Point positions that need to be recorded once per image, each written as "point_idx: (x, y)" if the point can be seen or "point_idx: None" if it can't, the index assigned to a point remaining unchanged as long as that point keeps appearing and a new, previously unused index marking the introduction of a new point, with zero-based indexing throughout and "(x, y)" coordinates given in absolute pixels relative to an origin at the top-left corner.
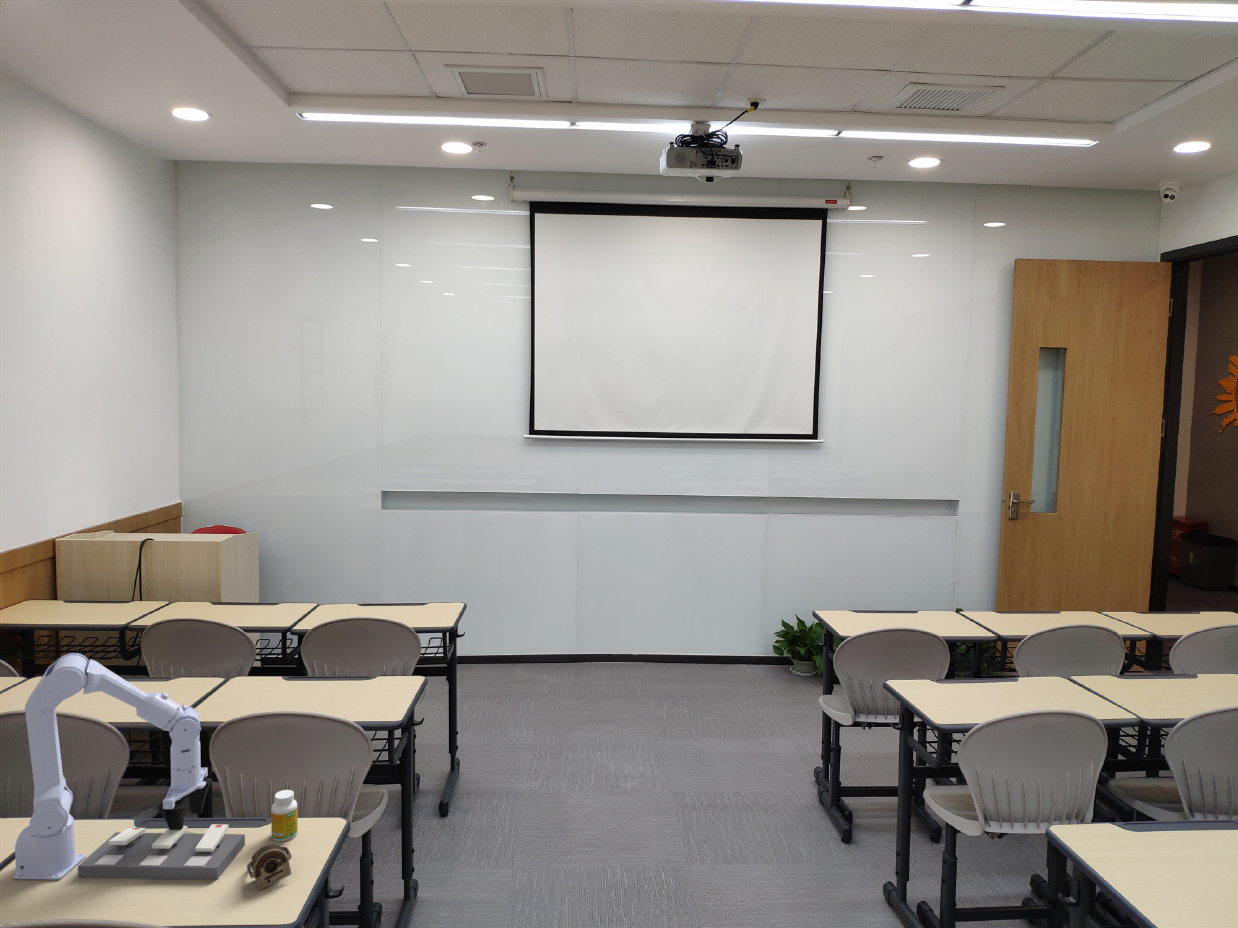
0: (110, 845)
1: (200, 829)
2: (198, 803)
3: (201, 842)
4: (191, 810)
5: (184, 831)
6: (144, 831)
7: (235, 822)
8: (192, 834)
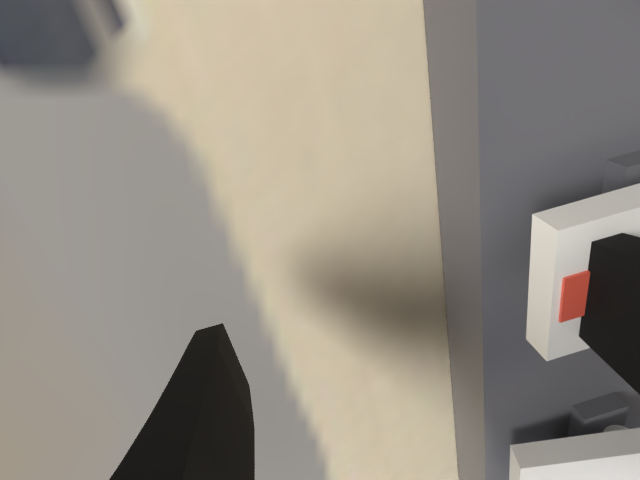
0: None
1: (245, 231)
2: (224, 427)
3: None
4: (251, 407)
5: (585, 203)
6: (523, 448)
7: (10, 2)
8: (492, 152)
